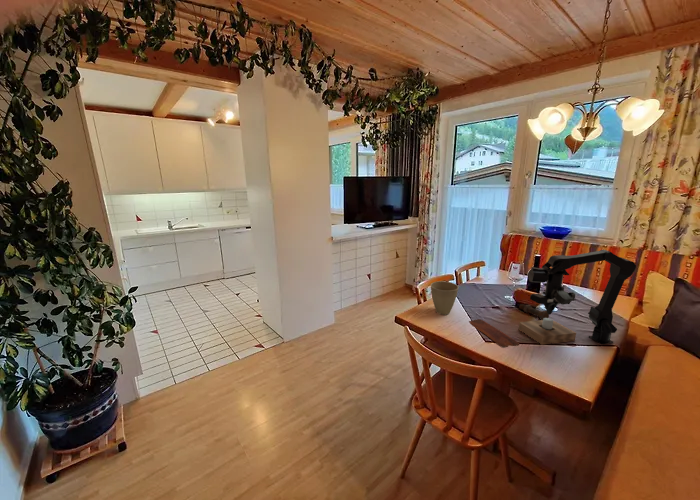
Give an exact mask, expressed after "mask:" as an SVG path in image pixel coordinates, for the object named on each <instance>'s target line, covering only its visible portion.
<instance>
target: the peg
mask: <svg viewBox="0 0 700 500" xmlns="http://www.w3.org/2000/svg"><path fill="white" fill-rule="evenodd" d="M553 321H554V319H552V318H543V323H542V328H543V329H545V330H552V326H553Z"/></svg>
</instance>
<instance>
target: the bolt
mask: <svg viewBox="0 0 700 500" xmlns="http://www.w3.org/2000/svg"><path fill="white" fill-rule="evenodd" d="M518 307H519V309H520V310H522V311H523V312H524V313H525V312H526V314H531V315H534V316H536V317H538V318H539V320H540V319H541V320H543V318H549V317H550V314H548V313H547V311H546V309H545V310H539V309H536V308H534V307H533V306H532V305H531V304H523V303H520V304H519V306H518ZM528 312H529V313H528ZM549 319H550V318H549Z"/></svg>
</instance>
